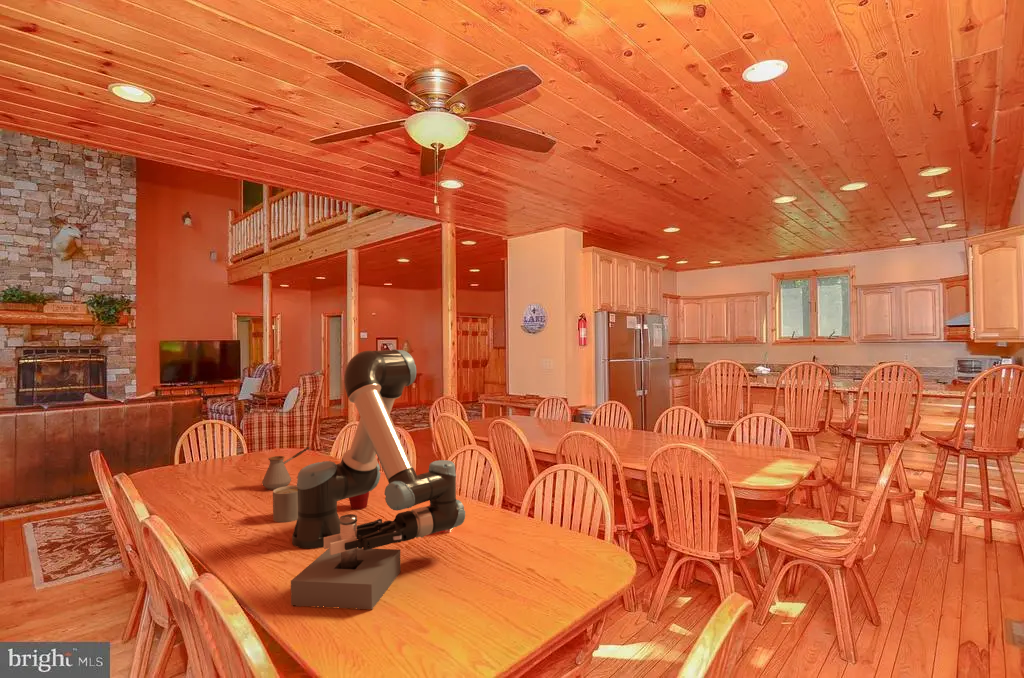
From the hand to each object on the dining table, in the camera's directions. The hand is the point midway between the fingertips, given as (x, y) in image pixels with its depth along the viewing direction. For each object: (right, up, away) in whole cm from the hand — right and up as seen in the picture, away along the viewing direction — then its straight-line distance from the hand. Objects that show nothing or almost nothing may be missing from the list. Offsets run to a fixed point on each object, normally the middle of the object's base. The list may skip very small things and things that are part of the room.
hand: (327, 546), depth 129 cm
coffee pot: (-52, -13, +99) cm, 113 cm away
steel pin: (+4, -8, +3) cm, 10 cm away
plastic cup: (-12, -12, +67) cm, 69 cm away
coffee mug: (-33, -13, +58) cm, 68 cm away
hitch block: (+4, -12, +3) cm, 13 cm away
